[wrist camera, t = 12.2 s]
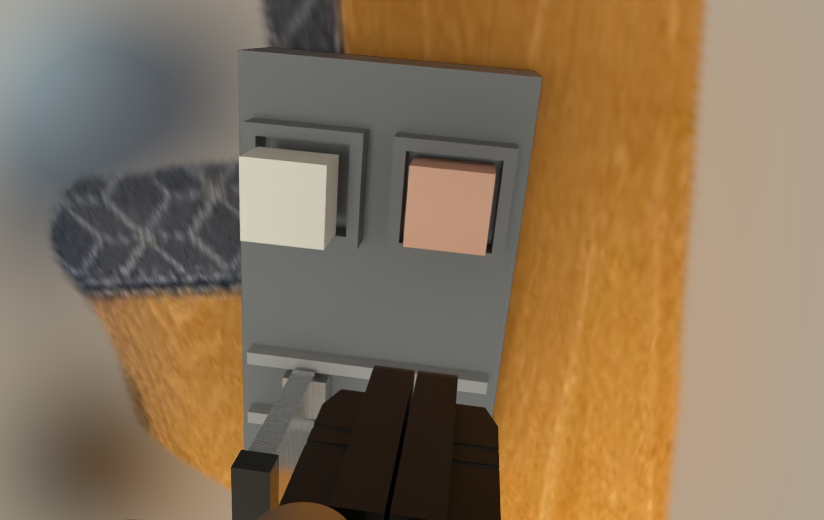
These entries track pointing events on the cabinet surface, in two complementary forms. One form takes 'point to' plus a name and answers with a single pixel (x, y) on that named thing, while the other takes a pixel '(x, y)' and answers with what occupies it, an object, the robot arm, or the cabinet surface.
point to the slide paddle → (277, 445)
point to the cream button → (288, 197)
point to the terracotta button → (449, 205)
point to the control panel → (381, 222)
